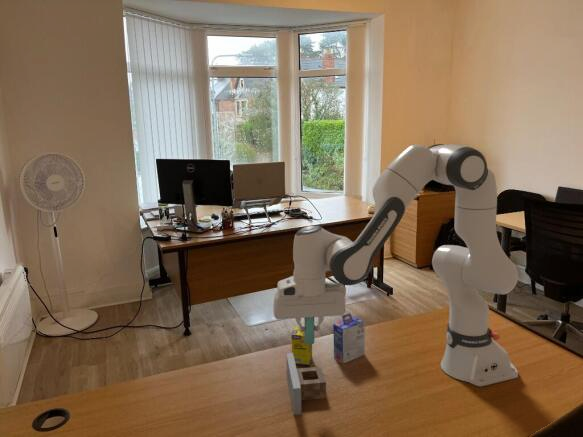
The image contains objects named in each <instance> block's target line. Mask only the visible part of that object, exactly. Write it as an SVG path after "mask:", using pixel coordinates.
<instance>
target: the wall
mask: <svg viewBox="0 0 583 437" xmlns="http://www.w3.org/2000/svg"><path fill="white" fill-rule="evenodd" d="M285 355H286V357H285V358H286V380H287V384H288V391H289V394H290V400H291V406H292V410H293V415H294V416H298V415H302V400H301V386H300V382H299V377H298V373H297V369H298V368H297V365H295V360H294V356H293V353H292V352H288V353H286V354H285Z"/></svg>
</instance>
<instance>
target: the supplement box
mask: <svg viewBox="0 0 583 437" xmlns="http://www.w3.org/2000/svg"><path fill="white" fill-rule="evenodd" d="M290 336H291V353H293V356H294V360H295V365H296V367H297V366H299V367H306V368H310V366H311V362H312V358H313V344H310V345H309V344H306V343H305V331H304V332H300V330H299V326H294V328H293V331H292V332H291V335H290Z"/></svg>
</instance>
